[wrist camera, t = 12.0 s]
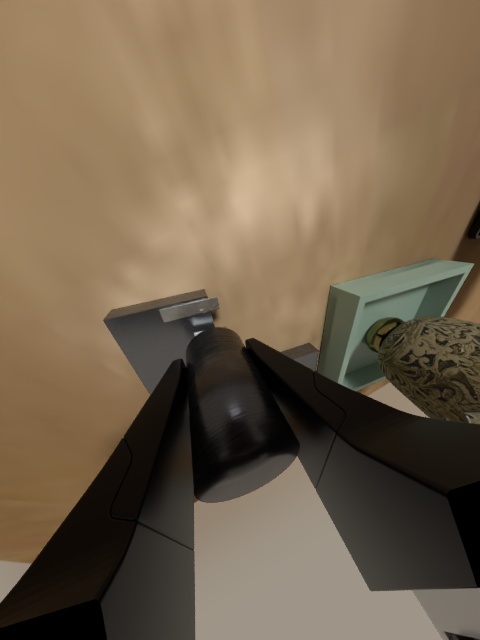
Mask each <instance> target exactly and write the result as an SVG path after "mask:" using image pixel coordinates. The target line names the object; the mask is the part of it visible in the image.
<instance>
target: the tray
mask: <svg viewBox="0 0 480 640" xmlns="http://www.w3.org/2000/svg"><path fill="white" fill-rule="evenodd" d="M473 265H474V264H473V263H465V262H457V261H448V260H440V259H431V260H427V261H423V262H419V263H416V264H412V265H408V266H404V267H400V268H396V269H393V270H389V271H385V272H381V273H377V274H373V275H369V276H366V277H362V278H358V279H354V280H350V281H346V282H343V283H339V284H335V285H331V288H330V294H329V300H328V307H327V313H326V319H325V325H324V331H323V338H322V344H321V350H320V356H319V363H318V369H317V372H318V373H319V374H321V375H323V376H325V377H327V378H329V379H331V380H333V381H335V382H337V383H339V384H341V385H343V386H345V387H347V388H350V389H352V390H354V391H359V390H361V389H363V388H365V387H368V386H370V385H372V384H375V383H377V382H379V381H382V380H384V379H386V377H385V375H384V374H383V373H382V371H381V369H380V367H379V364H378V353H376V352H373V351H371V350H370V349H369V348H368V346H367V345H366V342H365V339H366V335H367V333H368V331H369V330H370V328H371V327H372V326H373V325H374V324H375V323H376V322H378V321H379V320H381V319H383V318H386V317H397V318H400V319H402V320H403V321H404V322H407V321H409V320H412V319H415V318H420V317H428V316H435V317H444V316H445V314H446V312H447V310H448V309H449V307H450V305H451V303H452V302H453V300H454V298H455V296H456V295H457V293H458V291H459V289H460V288H461V286H462V284H463V283H464V281H465V279H466V277H467V276H468V274H469V272H470V270H471V269H472V267H473Z"/></svg>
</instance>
